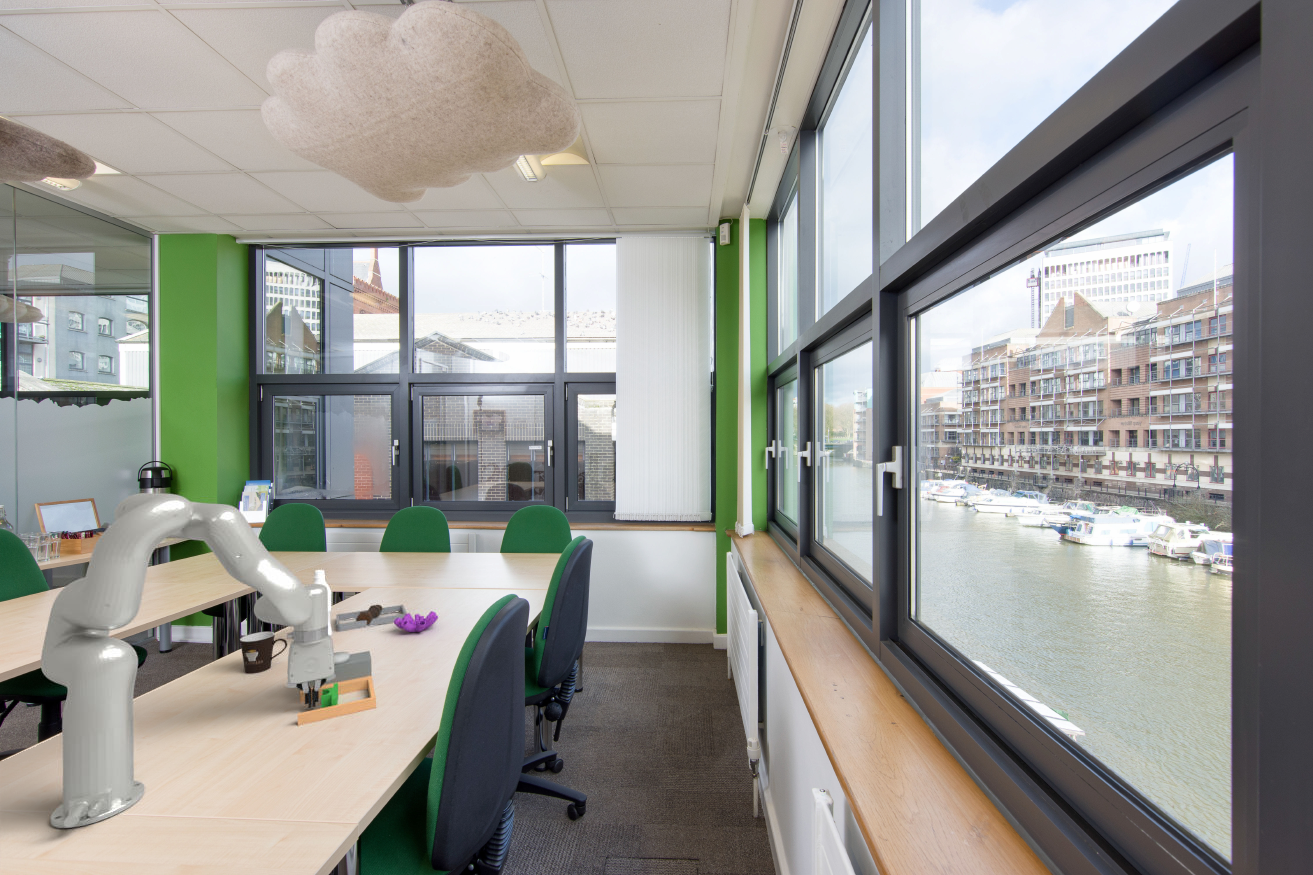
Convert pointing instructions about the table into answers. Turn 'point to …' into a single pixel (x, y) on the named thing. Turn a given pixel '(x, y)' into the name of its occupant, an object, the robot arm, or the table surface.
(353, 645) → the table surface
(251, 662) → the coffee mug
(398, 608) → the parts tray
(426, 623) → the purple coral
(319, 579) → the water bottle
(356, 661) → the orange and grey frame
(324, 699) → the pipe clamp
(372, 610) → the brown lumpy elongated piece
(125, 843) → the table surface
